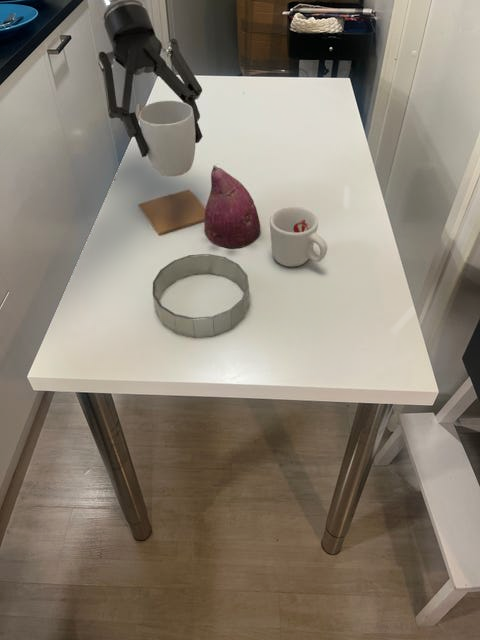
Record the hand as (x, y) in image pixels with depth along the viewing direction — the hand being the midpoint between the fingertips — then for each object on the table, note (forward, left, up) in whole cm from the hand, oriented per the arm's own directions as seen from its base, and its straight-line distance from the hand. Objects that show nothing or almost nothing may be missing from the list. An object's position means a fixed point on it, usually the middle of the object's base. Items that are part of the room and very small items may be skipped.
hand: (172, 146), depth 84 cm
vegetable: (+7, -8, -15) cm, 19 cm away
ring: (-6, -22, -15) cm, 28 cm away
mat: (0, +3, -15) cm, 15 cm away
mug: (+1, +3, -5) cm, 6 cm away
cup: (+13, -21, -15) cm, 29 cm away
